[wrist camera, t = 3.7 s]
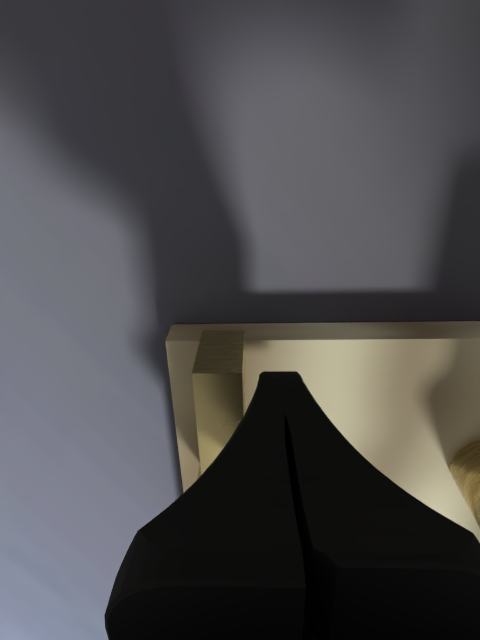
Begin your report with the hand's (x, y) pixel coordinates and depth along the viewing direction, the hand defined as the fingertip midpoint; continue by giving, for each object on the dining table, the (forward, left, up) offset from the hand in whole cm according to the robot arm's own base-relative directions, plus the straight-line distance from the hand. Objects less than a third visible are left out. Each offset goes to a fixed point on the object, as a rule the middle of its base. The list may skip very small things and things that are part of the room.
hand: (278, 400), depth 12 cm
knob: (+2, +2, -2) cm, 3 cm away
